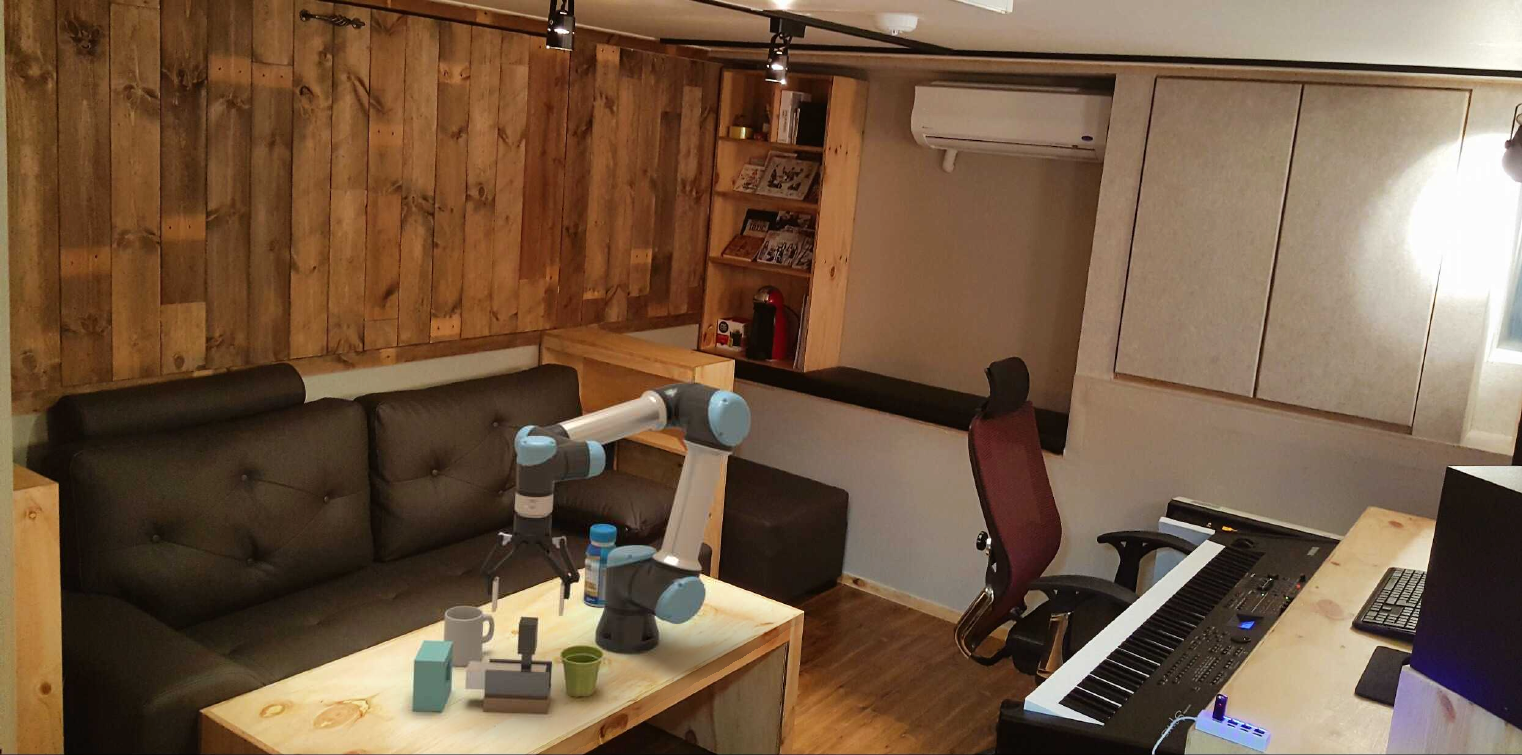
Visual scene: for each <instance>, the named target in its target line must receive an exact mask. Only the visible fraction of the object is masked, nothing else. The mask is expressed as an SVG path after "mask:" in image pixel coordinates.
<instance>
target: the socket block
mask: <svg viewBox="0 0 1522 755" xmlns="http://www.w3.org/2000/svg"><path fill="white" fill-rule="evenodd" d="M452 659H453V642H451V641H444V640H427V639H424V640H423V642H422V643H421V646H420V648H419V649H418V651H417V654H416V655H415V658H414V660H413V681H412V682H413V683H412V685H413V686H412V688H413V689H412V690H413V691H412V711H413V712H429V711H433V712H434V711H443V712H444V710H445V706H446V705H447V702H448V700H447V699H449V698H450V697H449V696H450V695H451V693H452V682H453V666H452ZM445 704H446V705H445ZM443 709H444V710H443ZM433 712H432V713H433ZM434 713H435V712H434Z"/></svg>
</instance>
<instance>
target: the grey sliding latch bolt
mask: <svg viewBox="0 0 1522 755" xmlns="http://www.w3.org/2000/svg"><path fill="white" fill-rule="evenodd" d="M538 629H539V617H533V616H531V617H530V616H520V620H519V622H518V632H517V633H518V635H517V655H521V659H520V660H521V663H500V662H489V661H480V662H478V661H469V664H468V666H466V669H465V690H484V691H485V670H486V669H487V670H510V671H533V672H546V671H547V665H545V664H532V660H533V656H535V655H536V652H537V647H538V632H539V630H538Z"/></svg>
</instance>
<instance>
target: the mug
mask: <svg viewBox="0 0 1522 755" xmlns="http://www.w3.org/2000/svg"><path fill="white" fill-rule="evenodd" d="M486 621H488V624H489V625H488V626H489V627H488V632H487V634H486V635H484V634H483V633H484V622H486ZM494 632H495V619H494V617H493V616H492V614H489V613H484V611H483V610H482V609H481V608H478V607H476V606H468V605H463V606H462V605H461V606H454V607H451V608H449V609H447V610H446V611H445V613H444V629H443V633H444V634H443V641H451V642H453V659H452V667H463V666H465V667H467V666H468V664H469V661H478V662H482V659H483V645H484V644H486V643H487V642H488V643H489V642H490V641H491V640H492V638H494V634H495V633H494ZM483 635H484V636H483Z"/></svg>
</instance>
